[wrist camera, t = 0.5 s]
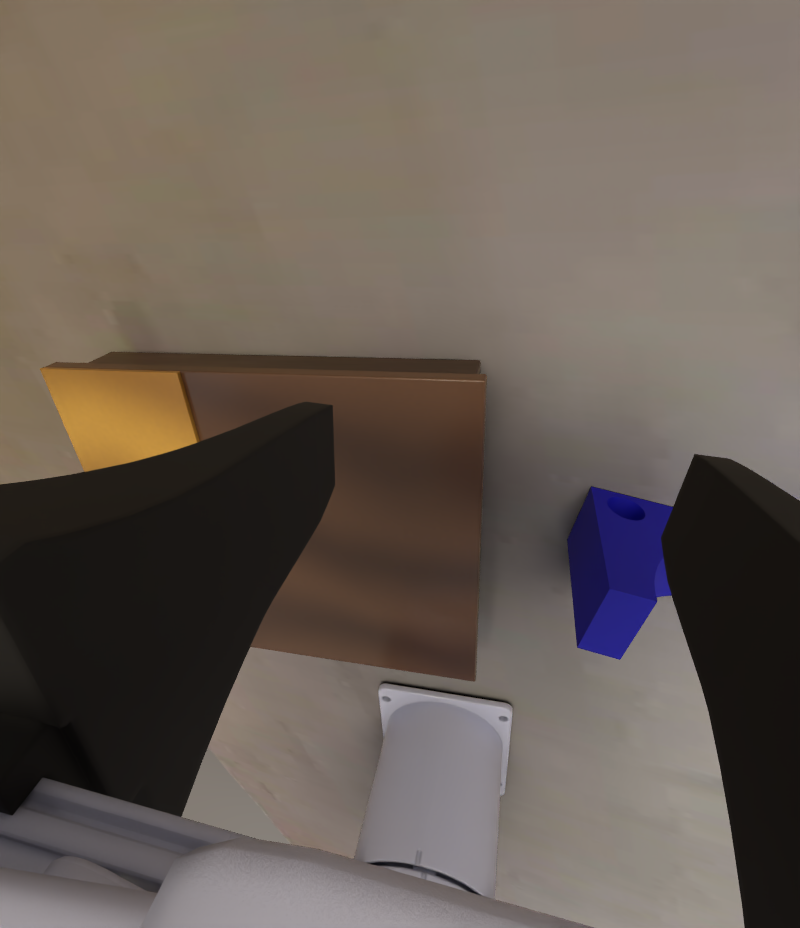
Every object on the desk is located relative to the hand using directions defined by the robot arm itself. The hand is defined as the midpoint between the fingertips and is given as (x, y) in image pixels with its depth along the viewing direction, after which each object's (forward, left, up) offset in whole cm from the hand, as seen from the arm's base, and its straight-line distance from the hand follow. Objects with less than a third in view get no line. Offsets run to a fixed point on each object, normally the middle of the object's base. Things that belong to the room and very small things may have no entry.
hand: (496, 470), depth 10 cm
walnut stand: (-8, +9, -10) cm, 16 cm away
